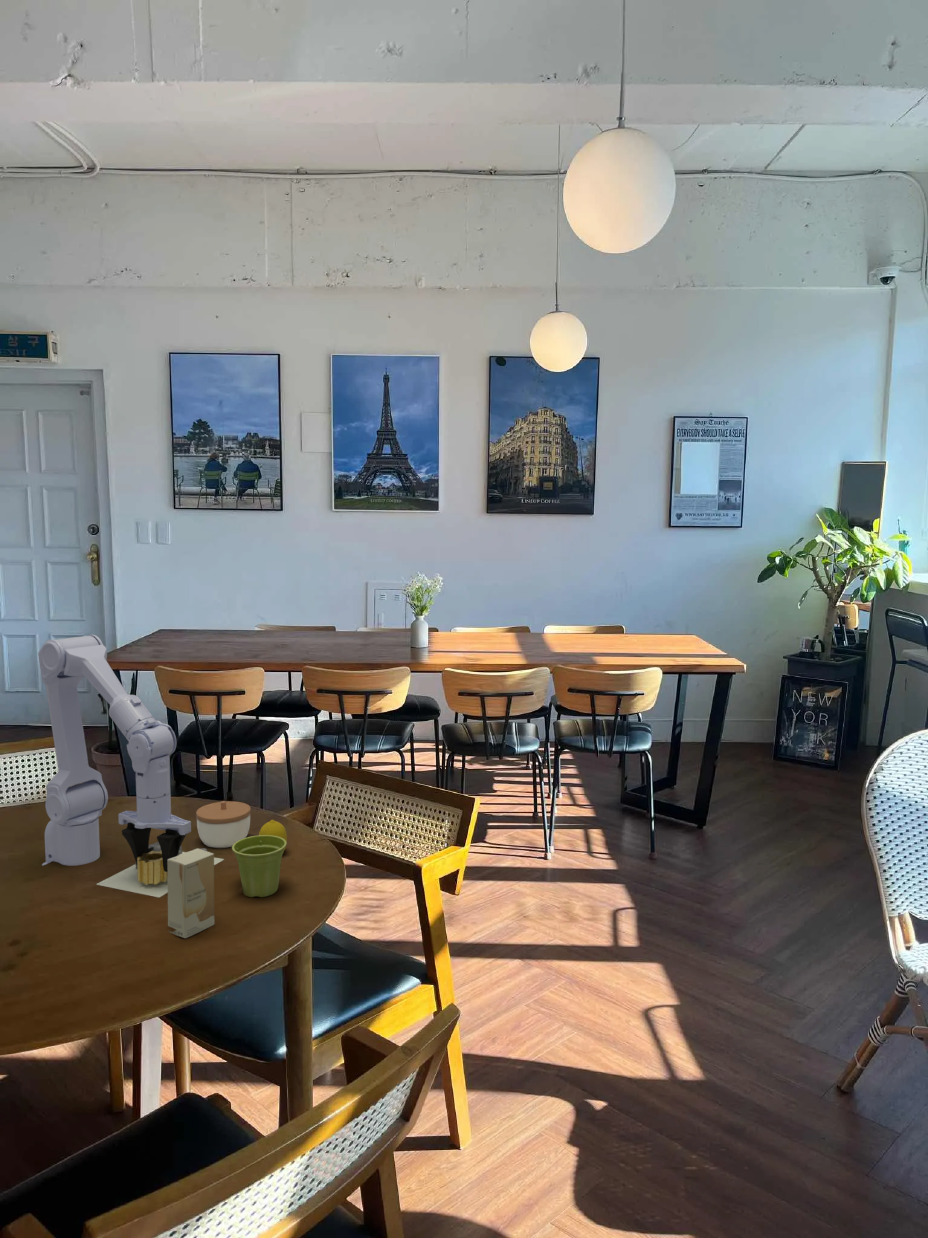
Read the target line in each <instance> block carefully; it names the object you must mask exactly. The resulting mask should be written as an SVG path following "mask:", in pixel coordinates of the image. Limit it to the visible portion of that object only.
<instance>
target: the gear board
mask: <svg viewBox="0 0 928 1238" xmlns="http://www.w3.org/2000/svg"><path fill="white" fill-rule="evenodd" d="M200 849H201V850H204V851H207V852H208V849H207V848H206V847H205V848H203V847H202V848H200ZM159 851H161V847H160V845H157V846H154V852H159ZM186 852H187V851H182V854H183V853H186ZM223 861H225V859H224V858H219V857H215V856H214V866H216V865H217V864H219V863H221V862H223ZM95 885H96V886H101V887H107V888H110V889H114V890H115V889H116V890H121V891H125V892H131V893H135V894H140V895H144V896H151V897H155V898H161V897H163V896H165V895H166V894H168V878H167V881H165V882H159V883H158V884H154V883H153V884H150V883H149V884H147V885H146V884H144V883H143V882H140V883H139V882H138V873H137V869H136V863H135V864H133V865H130V866H129V867H127V868H125V869H123V870H121V871H119V872H117V873H115V874H113V875H112V876H110V877H107V878H105V879H103V880H102V881H100V882H98V883H95Z"/></svg>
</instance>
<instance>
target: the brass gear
mask: <svg viewBox="0 0 928 1238" xmlns="http://www.w3.org/2000/svg"><path fill="white" fill-rule="evenodd" d="M137 873H138V882H139V883H140V882H143V883H144V884H146V885H147V884H149V883H150V884H153V883H154V884H158V883H159V882H165V881H167V878H168V872H165V871H164V869H163V860H162V851H159V852H154V851H151V852H149V853H142V856H138V857H137Z"/></svg>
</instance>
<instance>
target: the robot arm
mask: <svg viewBox="0 0 928 1238" xmlns="http://www.w3.org/2000/svg"><path fill="white" fill-rule="evenodd" d="M107 651H108V649H107V647H106V646H105V645H104V644H103V642H102V640H101V638H100V637H99V636H98V635H96V634H88V635H83V636H75V637H68V638H67V637H66V638H59V639H48V640H46V641H45V642H44V643H43V645H42V646H41V648H40V649H39V651H38V653H37V654H38V663H39V667H40V674H41V681H42V683H43V684H45V691H46V696H47V704H48V710H49V711H48V712H49V717H50V723H51V730H52V736H53V737H52V739H53V745H54V750H55V756H56V762H57V763H56V764H57V770H58V771H57V773H56V774H55V775H53V777H52V779H50V780H49V781H48V782H47V784H46V785H45V789H46V799H45V806H44V807H45V811H46V814H47V816H48V818H49V819H50V821H48V823H47V824H46V827H45V830H44V852H45V862H43V863H42V864H41V866H42V867H43V866H45V865H48V864H50V863H51V862H54V863H55V862H56V863H59V864H61V865H63V866H71V867H72V866H81V865H86V864H91V863H93V862H95V861H97V860H98V859H99V858H100V856H101V848H100V844H101V843H100V824H99V823H100V819H99V817H100V816H102V815H103V814H102V813H103V812H102V811H103V810H104V809H105V808H106V806H107V805H108V800H109V794H108V790H107V788H106V785H105V784H104V781H103V777H102V776H103V775H102V773H101V772H100V771H98V770H96V769H94V768H92V767H91V766H89V759H88V751H87V745H86V739H85V732H84V726H83V721H82V719H83V718H82V713H81V711H82V710H81V705H80V699H79V691H78V686H79V684H80V683H81V681H82V680H83V679H84V678H85V679H86V680H87V681H88V682H89V683H90V684H91V685H92V686H93V688H95V690H96V691H97V692H98V693H99V695H100V696H101V697H102V698H103V699H104V700H105V701H106V702H107V703H108V704H109V709H108V715H109V717H110V718H111V720H112V721H113V722H114V724H115V725H116V727H117V729H119V731H120V732H121V733H122V735H123V736H124V737H125V738H126V740H127V741H128V743H127V744H126V750H127V753H128V756H129V757H130V759H131V764H132V765H131V767H132V769H133V771H134V772H135V792H136V794H135V795H136V796H135V797H136V798H135V799H136V811H134V810H125V811H121V812H120V813H118V814H117V815H118V824H119V825H122V826H124V825H127V826H126V828H124V829H122V830H121V836H123V838H124V839H125V840H126V842H127V843H128V846H129V847H130V849H131V852H132V855H133V857H134V860H135V864H137V857H138V856H142V853H149V845H150V836H151V831H152V829H154V830H160V831H164V832H163V833H161V834H159V835H157V836H156V840H157V842H159V844H160V847H161V851H162V860H163V869H164V871H165V872H168V859H170V858H173V857H176V856H177V855H178V852H179V849H180V846H182V843H183V842H184V839H185V837H186V836H187V835H188V834H189V833H191V832H192V821H190V820H187V819H184V818H181V817H179V816H177V815H174V814H172V805H171V804H172V803H171V801H172V800H171V798H172V797H171V795H172V794H171V764H170V762H171V761H170V758H171V757H170V756H171V755H172V754H173V753H174V752H175V751H176V748H177V737H176V734H175V731H174V730H173V728H172V727H171V726H170V725H169V724H167V723H162V722H161V721H160V720H158V719H155V717H154V716H153V715H152V713H151V712H150V711H149V710H148V709H147V707H146V705H144V703H143V702H142V700H141V699H140V697H138V695H135V694H128V692H127V691H126V689H125V688H124V686H123V685H122V683H121V682H120V680H119V678H118V677H117V675H116V674H115V672H114V671H113V669H112V667H111V666H110V664H109V662H108V661H107V659H108V652H107Z"/></svg>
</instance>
